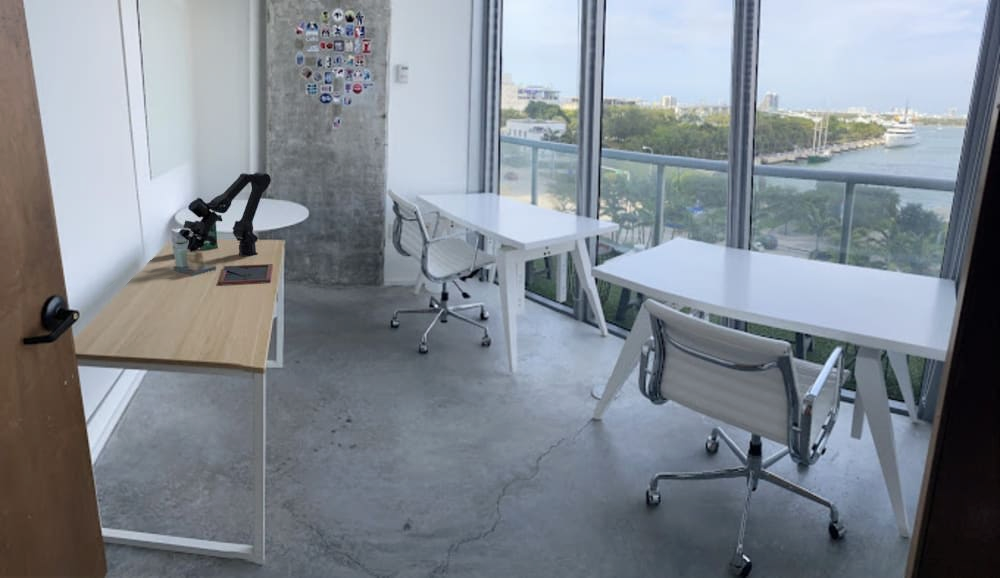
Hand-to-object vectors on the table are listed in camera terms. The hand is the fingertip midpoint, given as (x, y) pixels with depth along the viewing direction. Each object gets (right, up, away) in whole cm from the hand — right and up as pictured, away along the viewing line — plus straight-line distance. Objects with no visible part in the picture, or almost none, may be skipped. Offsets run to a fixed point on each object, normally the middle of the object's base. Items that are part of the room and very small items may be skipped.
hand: (187, 253), depth 316 cm
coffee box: (-5, +4, +36) cm, 36 cm away
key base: (+3, -7, 0) cm, 8 cm away
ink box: (-13, 0, +23) cm, 26 cm away
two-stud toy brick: (-1, -5, -1) cm, 5 cm away
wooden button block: (+5, -7, -5) cm, 10 cm away
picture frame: (+28, -10, -6) cm, 30 cm away
